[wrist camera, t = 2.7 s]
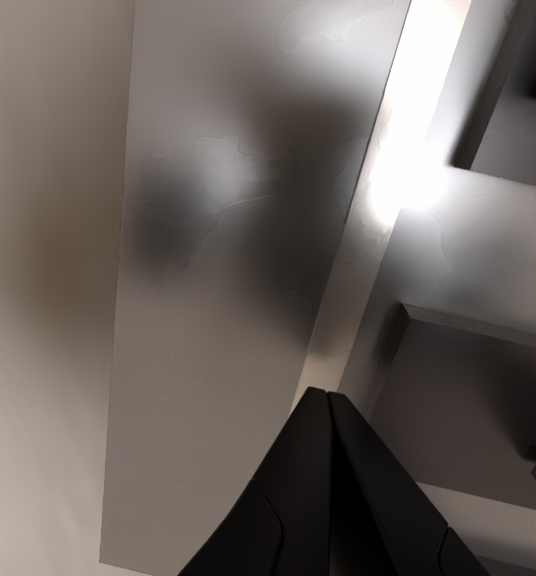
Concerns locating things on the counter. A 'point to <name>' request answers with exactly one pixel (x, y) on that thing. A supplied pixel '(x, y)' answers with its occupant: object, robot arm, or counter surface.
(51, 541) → the counter surface
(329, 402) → the robot arm
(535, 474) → the block
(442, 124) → the breaker panel
